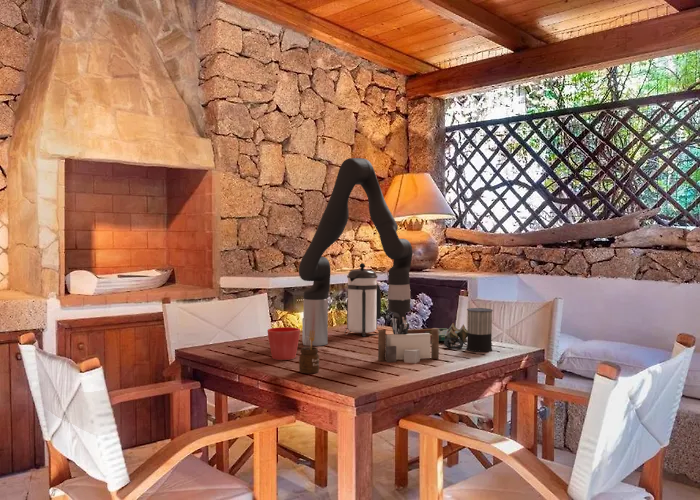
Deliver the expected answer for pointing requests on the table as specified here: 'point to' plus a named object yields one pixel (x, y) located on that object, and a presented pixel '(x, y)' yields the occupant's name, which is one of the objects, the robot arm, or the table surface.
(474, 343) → the milk frother
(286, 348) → the flower pot
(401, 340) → the panel
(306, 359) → the jar with wooden spoon
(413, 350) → the block
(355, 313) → the coffee press
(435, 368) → the table surface
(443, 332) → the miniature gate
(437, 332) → the gate posts
